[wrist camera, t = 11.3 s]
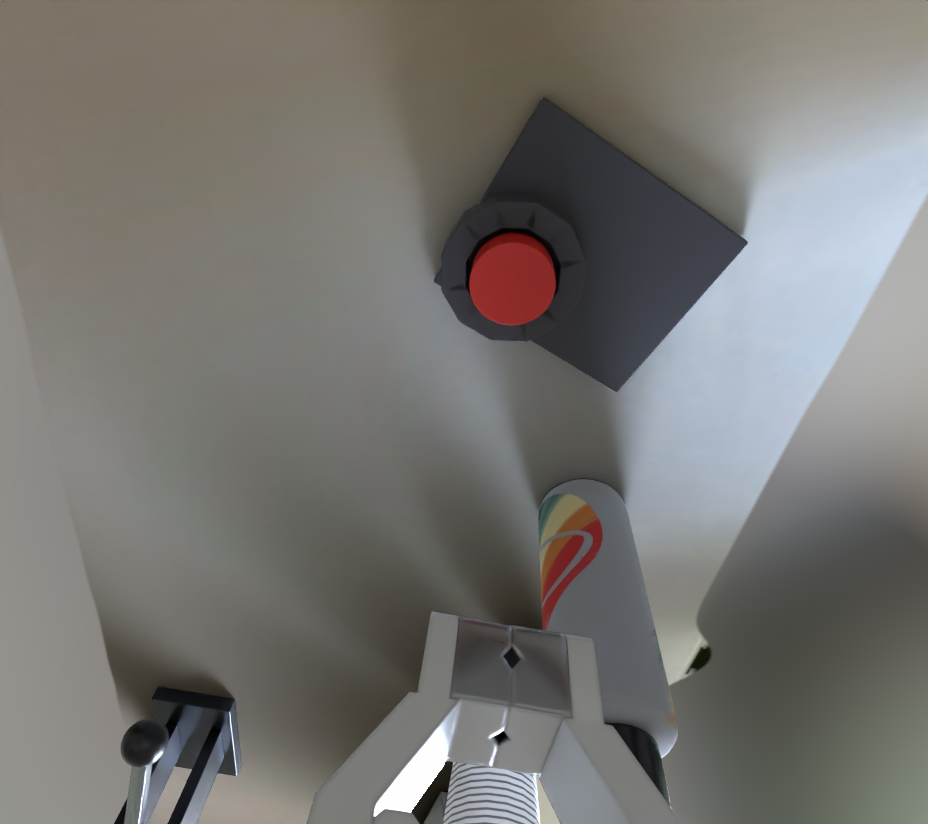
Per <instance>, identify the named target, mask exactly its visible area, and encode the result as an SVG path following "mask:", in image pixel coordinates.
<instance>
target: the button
mask: <svg viewBox="0 0 928 824" xmlns="http://www.w3.org/2000/svg"><path fill="white" fill-rule="evenodd" d="M555 288H556V279H555V271H554V265H553V261H552V258H551V256H550V254H549V252H548V250H547V249H546V248H545V246H544V245H543V244H542V243H541V242H539V241H538V240H537V239H535V238H533V237H531V236H529V235H526V234H522V233H504V234H501V235H498V236H496V237H493V238H492V239H490V240H489V241H487V242H486V243H485V244H484V245H483V246H482V247H481V248H480V250H479V251H478V252H477V254H476V256H475V259H474V261H473V265H472V270H471V274H470V280H469V289H470V294H471V297H472V300H473V302H474V304H475V306H476V307H477V309H478V310H479V311H480V312H481V313H482V314H483V315H484V316H485V317H487V318H488V319H490V320H492V321H494V322H496V323H499V324H503V325H521V324H524V323H527V322H530V321H532V320H534V319H536V318H537V317H539V316H540V315H541V314H542V313H543V312H544V311H545V310H546V309H547V308H548V306H549V305H550V303H551V301H552V299H553V296H554V293H555Z"/></svg>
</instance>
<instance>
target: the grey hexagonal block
mask: <svg viewBox="0 0 928 824" xmlns="http://www.w3.org/2000/svg"><path fill="white" fill-rule="evenodd" d="M447 796H448V793H447V792H440V794H439V796H438V798H437V800H436V802H435V803H434V805H433V807H432V809H431V811H430V812H429V814H428V816H427V818H426V820H425V821H424V823H423V824H443V819H444V813H445V808H446V802H447Z"/></svg>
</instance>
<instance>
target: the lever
mask: <svg viewBox="0 0 928 824" xmlns="http://www.w3.org/2000/svg"><path fill="white" fill-rule="evenodd" d="M168 743H169V732H168V729H167V727H166V726H165V725H164V724H163V723H162V722H161V721H159V720H157V719H144V720H141V721H139V722H137V723H135V724H134V725H132V726H131V727H130V728H129V729H128V730H127V732H126V733H125V735H124V737H123V740H122V742H121V755H122V757H123V759H124V761H125V762H126V763H127V764H129V765H131V766H132V769H131V776H130V784H129V792H128V798H127V806H126V813H125V820H124V824H144V820H145V813H146V806H147V799H148V791H149V784H150V777H151V770H152V764H153V763H155V762H156V761H157V760H159V759H160V758H161V756H162V755H163V754H164V752H165V751H166V749H167V746H168Z"/></svg>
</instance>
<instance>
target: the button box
mask: <svg viewBox="0 0 928 824" xmlns="http://www.w3.org/2000/svg"><path fill="white" fill-rule="evenodd" d="M504 233H522V234H526V235H529V236H531V237H533V238H535V239H537V240H538V241H539V242H541V243H542V244H543V245H544V246H545V248H546V249H547V250H548V252H549V254H550V256H551V258H552V261H553V265H554V271H555V279H556V288H555V293H554V296H553V299H552V301H551V303H550V305H549V306H548V308H547V309H546V310H545V311H544V312H543V313H542V314H541V315H540V316H539V317H537V318H536V319H534V320H532V321H530V322H527V323H524V324H521V325H503V324H499V323H496V322H494V321H492V320H490V319H488V318H487V317H485V316H484V315H483V314H482V313H481V312H480V311H479V310H478V309H477V307H476V306H475V304H474V302H473V300H472V297H471V294H470V289H469V280H470V274H471V270H472V265H473V261H474V259H475V256H476V254H477V252H478V251H479V250H480V248H481V247H482V246H483V245H484V244H485V243H486V242H487V241H489V240H490V239H492V238H493V237H496V236H498V235H501V234H504ZM747 243H748V242H747V241H746V240H745V239H744V238H742V237H741V236H739V235H738V234H737V233H735V232H734V231H732V230H731V229H730V228H728V227H727V226H725V225H724V224H723V223H721V222H720V221H718V220H717V219H716V218H714V217H713V216H711V215H710V214H708V213H707V212H706V211H704V210H703V209H701V208H700V207H699V206H697V205H696V204H694V203H693V202H692V201H690V200H689V199H687V198H686V197H685V196H683V195H682V194H680V193H679V192H678V191H676V190H675V189H673V188H672V187H671V186H669V185H668V184H666V183H665V182H664V181H662V180H661V179H659V178H658V177H656V176H655V175H654V174H652V173H651V172H649V171H648V170H647V169H645V168H644V167H642V166H641V165H640V164H638V163H637V162H635V161H634V160H633V159H631V158H630V157H628V156H627V155H626V154H624V153H623V152H621V151H620V150H619V149H617V148H616V147H614V146H613V145H612V144H610V143H609V142H607V141H606V140H604V139H603V138H602V137H600V136H599V135H597V134H596V133H595V132H593V131H592V130H590V129H589V128H588V127H586V126H585V125H583V124H582V123H581V122H579V121H578V120H576V119H575V118H574V117H572V116H571V115H569V114H568V113H567V112H565V111H564V110H562V109H561V108H560V107H558V106H557V105H555V104H554V103H553V102H551V101H550V100H548V99H547V98H545V97H543V98H542V99H541V101H540V103H539V104H538V106H537V108H536V109H535V111H534V113H533V114H532V116H531V118H530V119H529V121H528V123H527V124H526V126H525V128H524V129H523V131H522V133H521V134H520V136H519V138H518V139H517V141H516V143H515V144H514V146H513V148H512V149H511V151H510V153H509V154H508V156H507V158H506V159H505V161H504V163H503V164H502V166H501V168H500V169H499V171H498V173H497V174H496V176H495V178H494V179H493V181H492V183H491V184H490V186H489V188H488V189H487V191H486V193H485V194H484V196H483V198H482V199H481V201H480V203H479V204H478V205H476V206H474V207H472V208H470V209H469V210H467V211H465V212H464V213H463V215H462V216H461V218H460V220H459V221H458V223H457V225H456V226H455V228H454V230H453V231H452V233H451V235H450V237H449V238H448V240H447V242H446V243H445V246H444V249H443V251H442V255H441V268H440V269H439V271H438V273H437V274H436V276H435V278H434V282H435V283H436V284H438V285H440V286H441V290H442V292H443V294H444V296H445V298H446V299H447V301H448V303H449V304H450V306H451V308H452V310H453V311H454V313H455V315H456V316H457V318H458V320H459V321H460V322H461V323H463V324H464V325H466V326H468V327H469V328H471V329H473V330H475V331H476V332H478V333H480V334H481V335H483V336H485V337H486V338H488V339H491V340H501V341H521V342H525V341H529V340H531V341H533V342H534V343H536V344H538V345H539V346H541V347H543V348H544V349H546V350H548V351H549V352H551V353H552V354H554V355H556V356H557V357H559V358H561V359H562V360H564V361H566V362H567V363H569V364H571V365H572V366H574V367H576V368H577V369H579V370H581V371H582V372H584V373H586V374H587V375H589V376H591V377H592V378H594V379H596V380H597V381H599V382H601V383H602V384H604V385H606V386H607V387H609V388H610V389H612V390H614V391H615V392H617V391H618V390H619V389H620V388H621V387H622V386H623V385H624V384H625V382H626V381H627V380H628V379H629V378H630V377H631V376H632V374H633V373H634V372H635V371H636V370H637V369H638V368H639V366H640V365H641V364H642V363H643V362H644V361H645V360H646V358H647V357H648V356H649V355H650V354H651V353H652V352H653V351H654V349H655V348H656V347H657V346H658V345H659V344H660V343H661V341H662V340H663V339H664V338H665V337H666V336H667V335H668V333H669V332H670V331H671V330H672V329H673V328H674V327H675V325H676V324H677V323H678V322H679V321H680V320H681V319H682V318H683V316H684V315H685V314H686V313H687V312H688V311H689V310H690V308H691V307H692V306H693V305H694V304H695V303H696V302H697V300H698V299H699V298H700V297H701V296H702V295H703V294H704V292H705V291H706V290H707V289H708V288H709V287H710V286H711V285H712V283H713V282H714V281H715V280H716V279H717V278H718V277H719V275H720V274H721V273H722V272H723V271H724V270H725V269H726V267H727V266H728V265H729V264H730V263H731V262H732V261H733V259H734V258H735V257H736V256H737V255H738V254H739V253H740V252H741V250H742V249H743V248H744V247H745V246H746V245H747Z"/></svg>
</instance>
